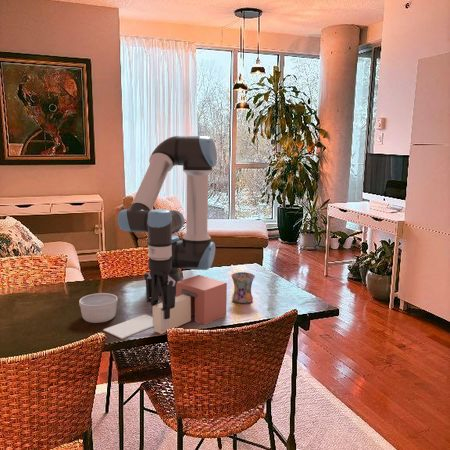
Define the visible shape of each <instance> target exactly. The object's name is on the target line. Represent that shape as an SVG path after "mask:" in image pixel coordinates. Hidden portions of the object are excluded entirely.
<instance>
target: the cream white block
mask: <svg viewBox="0 0 450 450" xmlns="http://www.w3.org/2000/svg"><path fill="white" fill-rule="evenodd" d="M166 306H167V305H166ZM161 309H163V305H162V302H160V303H159V304H157V305H154V306H153V310H154V327H153V328H154V329H153V331H154V332H155V333H158V334H160V335H163V334H164V333H167V332H166V330H167V329H169V328H174V327H176V328H179V327H180V326H183V325H184V324H187V323H189V322H191V321H192V317H191V316H192V315H191V297H190V296H187V295H184V294H183V295H180V296H178V297H176V296H175V307H174V308H172V309H170V318H169V327H167V328H164V329H162V328H161ZM174 329H175V328H174Z"/></svg>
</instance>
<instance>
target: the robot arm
mask: <svg viewBox="0 0 450 450" xmlns="http://www.w3.org/2000/svg"><path fill="white" fill-rule="evenodd" d="M216 147H217V146H216V144H215V142H214V140H213V138H212V137H209V136H202V135H199V136H197V135H193V136H192V135H190V136H188V135H183V136H182V135H173V136H170V137H168V138H166V139H164V140H162V141H161V142H160V143H159V144H158V145H157V146H156V148H155V149H154V150H152V153H151V155H150V157H149V159H148V161H149V165H148V168H147V169H146V172H145V174H144V176H143V178H142V180H141V183H140V185H139V187H138V188H137V189H138V190H137V191H136V194H135V196H134V198H133V200H132V203H131V205H130V207H129V208H127V209H121V210H120V211H119V212H118V214H117V225H118V228H119V229H120V230H122V231H124V232H131V233H134V232H135V233H147V238H148V239H147V246H148V247H147V248H148V251H147V252H148V253H147V255H148V257H149V258H148V260H147V261H148V270H149V272H146V273H144V274H143V276H144V279H145V292H146V302H147V303H148V304H150V306H151V315H152V317H153V325H154V310H153V306H154V305H157V304H159V303H162V305H163V309H161V328H162V329H164V328H167V327H169V318H170V309H172V308H174V307H175V297H176V284H177V282H178V281H181V280H182V277H181V274H180V269H187V270H197V271H207V270H209V269H210V268H211V267H212V265H213V262H214V259H215V255H216V244H215V242H214V241H212V237H211V236H210V235H209V234H208V217H209V215H208V213H209V212H208V207H209V204H208V203H209V174H211V172H213V167H215V166H217V160H218V155H217V149H216ZM175 166H182V171H183V172H184V173H185V174H186V229H185V231H186V233H185V234H184V235H183V236H182V240H180V237H179V236H178V235H174V234H175V233H179V231H181V229H182V228H183V227H184V224H185V218H184V216H183V213H181V212H180V211H178V210H169V209H165V208H159V209H158V208H156V209H153V208H154V207H155V204H156V201H157V199H158V197H159V194H160V192H161V190H162V187H163V185H164V183H165V180H166V177H167V176H168V172H171V171H172V170H173V168H174V167H175ZM160 297H161V302H160V301H159V299H160ZM166 305H167V306H166Z"/></svg>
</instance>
